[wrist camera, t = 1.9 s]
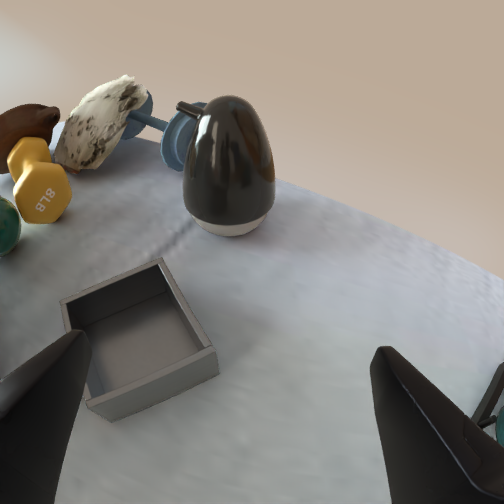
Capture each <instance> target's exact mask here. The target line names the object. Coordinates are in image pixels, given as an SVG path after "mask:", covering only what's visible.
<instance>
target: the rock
mask: <svg viewBox="0 0 504 504" xmlns="http://www.w3.org/2000/svg"><path fill="white" fill-rule="evenodd" d="M133 80H134V77H131V78H129V76H128V75H124V76H122V77H120V78H118V79H115V80H114V81H111V82H108V83H106V84H104V85H101V86H99V87H96V88H95V89H94V90H93V91H92V92H90V93H87V94H86V95H85V96H84V97H83V99H82V101H81V103H80V105H79V106H77V107H75V108H74V109H73V110H72V112H71V114H70V115H69V117H68V119H67V120H66V122H65V126H64V128H63V131H62V133H61V136H60V138H59V141H58V143H57V146H56V149H55V152H54V156H55V159H54V160H55V164H59V165H60V166H62V168H63V169H64V170H67V171H68V172H70V173H75V174H79V172H80V171H81V168H82V169H97V168H98V167H99V166H100V165H101V163H102V162H103V161H104V160H105V159H106V158H107V157H108V156H109V155H110V153H111V152H112V151H113V149H114V148H115V147H116V145H117V144H118V142H119V140H120V138H121V136H122V133H123V132H124V129H125V127H126V126H127V125H128V124H129V123H130V121H128V122H126V117H127V116H128V114H129V113H130V112H131V111H133V110H136V109H141V108H140V107H141V106H142V105H143V104H144V103H145V101H146V100H147V98H148V94H146V92H147V89H146V88H145V87H144V86H143V85H141V84H140V85H136V86H134V87H133V85H134V82H132V81H133Z"/></svg>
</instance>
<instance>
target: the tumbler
mask: <svg viewBox="0 0 504 504" xmlns="http://www.w3.org/2000/svg"><path fill="white" fill-rule="evenodd" d="M496 436H497V441H498V443H499V444H501V445H502V446H503V447H504V406H503V407H502V408H501V410H500V412H499V414H498V417H497V422H496Z"/></svg>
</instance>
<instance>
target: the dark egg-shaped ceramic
mask: <svg viewBox="0 0 504 504" xmlns="http://www.w3.org/2000/svg"><path fill="white" fill-rule="evenodd" d="M176 109H177V111H179V112H181V113H183V114H185V115H187V116H188V117H190V118H192V119H194V120H196V123H195V126H194V128H193V131H192V133H191V136H190V139H189V142H188V146H187V150H186V155H185V160H184V168H183V200H184V204H185V207H186V209H187V210H188V211H189V213H190V214H191V215H192V217H193V219H194V220H195V221H196V223H197V224H198V225H199V226H201V227H202V228H203V229H205V230H206V231H208V232H210V233H213V234H216V235H220V236H237V235H241V234H245V233H247V232H249V231H251V230H253V229H254V228H256V227H257V226H258V225H259V224H260V223H261V222H262V221H263V220H264V218H265V217H266V215H267V213H268V211H269V210H270V209H271V208H272V206H273V204H274V200H275V171H274V163H273V157H272V152H271V148H270V144H269V141H268V138H267V135H266V132H265V130H264V127H263V125H262V122H261V120H260V118H259V116H258V114H257V112H256V111H255V109H254V108H253V106H252V105H251V104H250V103H249V102H248V101H246V100H245V99H243V98H240V97H238V96H233V95H225V96H220V97H217V98H215V99H213V100H211V101H210V102H209V103H208V104H207V105H206V106H205V107H204V109H203V108H200V107H197V106H194V105H191V104H189V103H186V102H183V101H181V102H179V103H178V104H177V106H176Z"/></svg>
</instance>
